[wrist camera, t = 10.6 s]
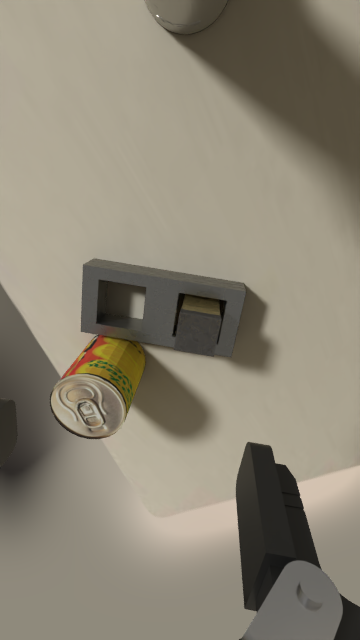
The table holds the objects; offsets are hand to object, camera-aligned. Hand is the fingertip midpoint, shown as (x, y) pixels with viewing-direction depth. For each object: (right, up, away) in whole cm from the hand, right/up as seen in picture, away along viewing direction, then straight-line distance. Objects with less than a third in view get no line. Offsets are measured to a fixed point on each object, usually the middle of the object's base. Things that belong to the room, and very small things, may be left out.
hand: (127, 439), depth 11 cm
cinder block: (0, +6, +34) cm, 35 cm away
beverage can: (-8, -2, +38) cm, 39 cm away
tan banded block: (+5, +6, +34) cm, 35 cm away
